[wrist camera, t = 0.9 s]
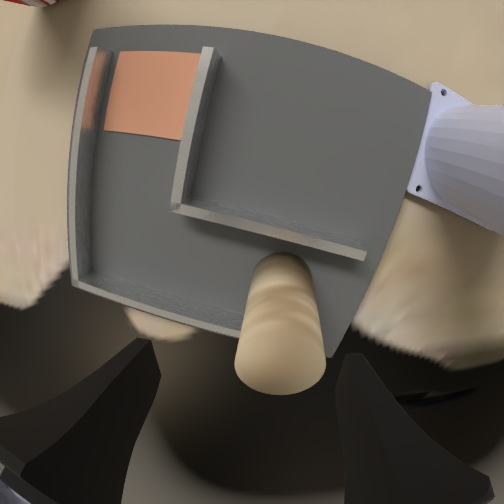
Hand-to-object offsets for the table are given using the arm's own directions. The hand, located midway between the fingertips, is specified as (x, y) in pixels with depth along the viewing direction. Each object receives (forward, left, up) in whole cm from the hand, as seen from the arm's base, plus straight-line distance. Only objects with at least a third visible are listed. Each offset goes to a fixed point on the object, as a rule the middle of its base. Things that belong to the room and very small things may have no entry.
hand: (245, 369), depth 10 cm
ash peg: (-2, +1, -10) cm, 10 cm away
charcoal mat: (+3, -3, -10) cm, 11 cm away
